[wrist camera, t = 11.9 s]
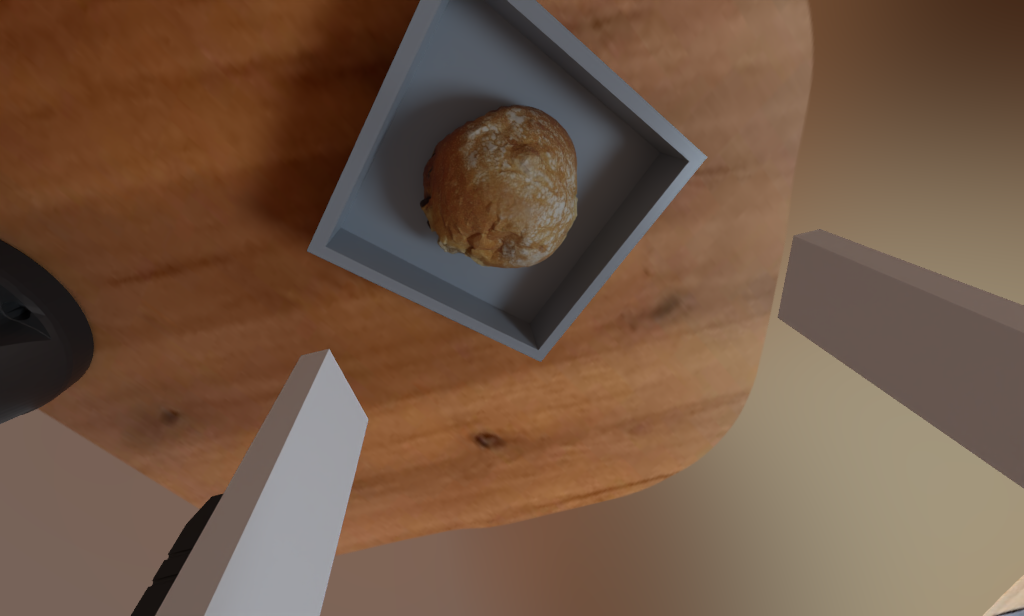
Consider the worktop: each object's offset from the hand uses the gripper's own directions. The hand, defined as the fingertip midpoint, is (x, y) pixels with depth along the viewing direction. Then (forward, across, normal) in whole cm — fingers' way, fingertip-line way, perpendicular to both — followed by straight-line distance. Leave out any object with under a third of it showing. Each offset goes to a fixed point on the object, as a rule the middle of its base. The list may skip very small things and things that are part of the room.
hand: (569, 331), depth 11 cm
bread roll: (+18, 0, 0) cm, 18 cm away
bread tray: (+19, 0, 0) cm, 19 cm away
